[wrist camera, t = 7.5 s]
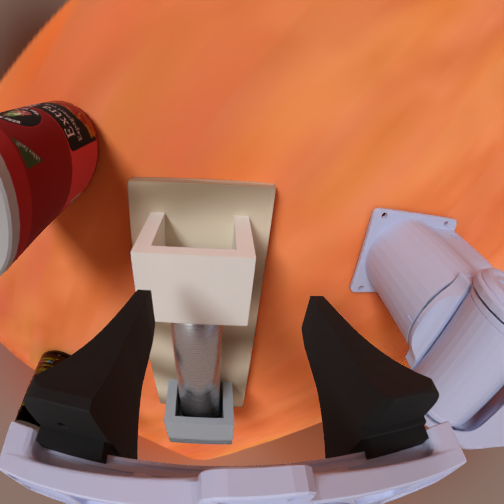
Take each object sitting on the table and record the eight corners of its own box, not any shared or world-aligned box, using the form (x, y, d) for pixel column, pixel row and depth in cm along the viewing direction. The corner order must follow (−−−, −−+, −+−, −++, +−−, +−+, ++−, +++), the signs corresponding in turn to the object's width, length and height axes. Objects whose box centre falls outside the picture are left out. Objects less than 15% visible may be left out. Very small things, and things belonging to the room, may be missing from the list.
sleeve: (150, 212, 20) (130, 252, 16) (248, 216, 21) (256, 258, 16) (154, 272, 23) (140, 320, 18) (242, 276, 23) (247, 325, 19)
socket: (168, 379, 30) (164, 421, 25) (232, 381, 30) (234, 425, 26) (173, 403, 32) (170, 441, 28) (229, 405, 33) (231, 444, 28)
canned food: (117, 115, 17) (22, 153, 8) (86, 214, 21) (14, 308, 11) (34, 88, 15) (-76, 115, 6) (13, 183, 18) (-74, 252, 9)
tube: (170, 252, 22) (160, 286, 18) (226, 255, 22) (227, 289, 19) (182, 396, 31) (181, 426, 28) (218, 397, 32) (219, 428, 28)
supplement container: (34, 357, 29) (7, 423, 20) (56, 340, 27) (25, 416, 19) (73, 387, 32) (54, 452, 23) (100, 374, 31) (81, 450, 22)
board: (131, 177, 20) (127, 181, 19) (273, 183, 21) (276, 188, 20) (161, 396, 33) (160, 403, 32) (242, 400, 34) (242, 406, 33)
